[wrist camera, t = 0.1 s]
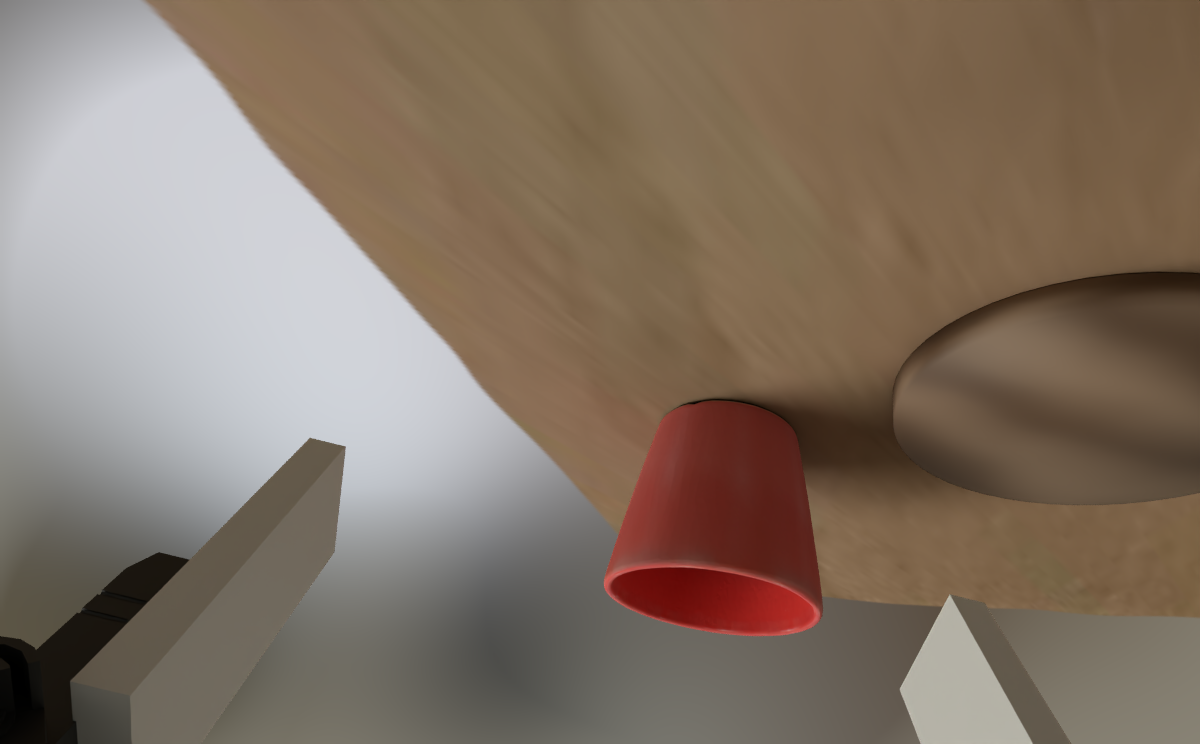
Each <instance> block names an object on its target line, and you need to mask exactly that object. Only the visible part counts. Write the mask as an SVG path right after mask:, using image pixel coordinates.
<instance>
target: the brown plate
mask: <svg viewBox="0 0 1200 744" xmlns="http://www.w3.org/2000/svg"><path fill="white" fill-rule="evenodd" d="M893 429H894V433H895V437H896V440H897V442H898V443H899V445H900V447H901V449H902V450H903V451H904V452H905V454H906V455H907V456H908V457H909V458H910V459H911V460H912V461H913V462H915V463H916V464H917V465H918V466H919V467H921V468H922V469H924V470H925V471H927V472H929V473H930V474H932V475H934V476H936V477H938V478H940V479H942V480H944V481H946V482H948V483H951V484H954V485H956V486H959V487H962V488H965V489H968V490H971V491H975V492H978V493H982V494H986V495H990V496H995V497H1000V498H1005V499H1011V500H1018V501H1025V502H1034V503H1044V504H1061V505H1108V504H1126V503H1136V502H1147V501H1155V500H1162V499H1169V498H1176V497H1181V496H1186V495H1191V494H1196V493H1200V274H1194V273H1137V274H1119V275H1111V276H1103V277H1095V278H1086V279H1081V280H1076V281H1070V282H1065V283H1060V284H1055V285H1050V286H1047V287H1043V288H1039V289H1035V290H1032V291H1028V292H1024V293H1020V294H1017V295H1015V296H1012V297H1009V298H1006V299H1003V300H1000V301H997V302H994V303H992V304H989V305H987V306H985V307H983V308H980V309H978V310H976V311H974V312H971V313H969V314H967V315H965V316H963V317H961V318H960V319H958V320H956V321H954V322H952V323H951V324H949V325H947V326H945V327H944V328H942V329H941V330H939V331H938V332H937V333H935V334H934V335H932V336H931V337H930V338H928V339H927V340H926V341H925V342H924V343H922V344H921V345H920V346H919V347H918V348H917V349H916V350H915V351H914V352H913V353H912V354H911V355H910V357H909V358H908V359H907V360H906V361H905V363H904V364H903V365H902V367H901V369H900V371H899V373H898V375H897V377H896V380H895V383H894V387H893Z"/></svg>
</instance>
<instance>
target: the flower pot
mask: <svg viewBox="0 0 1200 744" xmlns="http://www.w3.org/2000/svg"><path fill="white" fill-rule="evenodd" d="M604 587H605V590H606V592H607V593H608V594H609V595H610V596H611V597H612V598H613V599H614V600H615V601H616V602H618V603H619V604H621V605H623V606H625V607H627V608H629V609H631V610H633V611H635V612H637V613H640V614H642V615H645V616H648V617H650V618H654V619H657V620H660V621H663V622H667V623H671V624H675V625H679V626H683V627H687V628H692V629H697V630H702V631H708V632H714V633H722V634H731V635H745V636H775V635H786V634H792V633H796V632H801V631H804V630H807V629H809V628H811V627H813V626H814V625H816V624H817V623H818V622H819V620H820V619H821V617H822V613H823V605H822V593H821V585H820V578H819V570H818V563H817V556H816V550H815V543H814V536H813V530H812V523H811V515H810V509H809V502H808V496H807V490H806V484H805V478H804V473H803V467H802V461H801V455H800V449H799V444H798V439H797V436H796V434H795V432H794V430H793V429H792V427H791V426H790V425H789V424H788V423H787V422H786V421H785V420H783V419H782V418H781V417H779V416H777V415H776V414H774V413H772V412H770V411H768V410H765V409H763V408H760V407H757V406H754V405H750V404H745V403H740V402H733V401H704V402H700V403H697V404H694V405H693V404H687V405H683V406H681V407H678V408H676V409H674V410H672V411H671V412H669V413H668V414H667V415H666V416H665V417H664V418H663V419H662V421H661V422H660V424H659V427H658V429H657V432H656V435H655V437H654V440H653V442H652V445H651V447H650V450H649V452H648V455H647V457H646V460H645V462H644V465H643V468H642V470H641V473H640V476H639V478H638V481H637V484H636V487H635V489H634V492H633V495H632V498H631V501H630V504H629V506H628V509H627V512H626V515H625V518H624V521H623V524H622V526H621V529H620V532H619V535H618V538H617V541H616V544H615V547H614V550H613V553H612V556H611V559H610V562H609V565H608V569H607V572H606V575H605V579H604Z"/></svg>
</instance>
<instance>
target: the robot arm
mask: <svg viewBox="0 0 1200 744" xmlns="http://www.w3.org/2000/svg"><path fill="white" fill-rule="evenodd" d="M345 448H346V447H345V446H341V445H336V444H332V443H329V442H325V441H320V440H316V439H312V438H309V439H308V441H307V442H306V443H305V444H304V445H303V446H302V447H301V448H300V449H299V450H298V451H297V452H296V453H295V454H294V455H293V456H292V457H291V458H290V459H289V460H288V461H287V462H286V463H285V464H284V465H283V466H282V467H281V468H280V469H279V470H278V471H277V472H276V473H275V474H274V475H273V476H272V477H271V478H270V479H269V480H268V481H267V482H266V483H265V484H264V485H263V486H262V487H261V488H260V489H259V490H258V491H257V492H256V493H255V494H254V495H253V496H252V497H251V498H250V499H249V500H248V501H247V502H246V503H245V504H244V506H242V508H240V510H239V511H238V512H237V513H236V514H235V515H234V516H233V517H232V518H231V519H230V520H229V521H228V522H227V523H226V524H225V525H224V526H223V527H222V528H221V529H220V530H219V531H218V532H217V533H216V534H215V535H214V536H213V537H212V538H211V539H210V540H209V541H208V542H207V543H206V544H205V545H204V546H203V547H202V548H201V549H200V550H199V551H198V552H197V553H196V554H195V555H194V556H193V557H192V558H191V559H190V560H188V559H184V558H180V557H176V556H172V555H168V554H164V553H160V552H159V553H156V554H154V555H152V556H150V557H148V558H146V559H144V560H142V561H140V562H138V563H136V564H134V565H132V566H130V567H128V568H126V569H125V570H124V571H123V572H121V573H120V574H119V575H118V576H117V577H116V578H115V579H114V580H113V581H112V582H110V583H109V584H108V585H107V586H106V587H105V588H104V589H103V590H102V592H101V594H100V595H98V594H97V595H96V596H95V597H94V598H93V599H92V600H91V601H90V602H89V603H87V604H86V605H85V606H84V607H83V608H82V611H81V612H80V613H76V614H75V615H74V616H73V617H72V618H71V619H70V620H69V621H68V622H67V623H65V624H64V625H63V626H62V627H61V628H60V629H59V630H58V631H57V632H56V633H55V634H53V635H52V636H51V637H50V638H49V639H48V640H47V641H46V642H45V643H43V644H42V645H41V646H40V647H39V648H38V649H37V650H35V648H34V647H33V646H31V645H29V644H28V643H26V642H24V641H22V640H21V639H15V638H8V637H1V636H0V744H201V743H202V741H203V740H204V739H205V737H206V736H207V734H208V733H209V731H210V730H211V728H212V727H213V726H214V724H215V723H216V721H217V720H218V718H219V717H220V716H221V714H222V713H223V711H224V710H225V708H226V707H227V706H228V704H229V703H230V701H231V700H232V698H233V697H234V695H235V694H236V693H237V691H238V690H239V688H240V687H241V685H242V684H243V682H244V681H245V680H246V678H247V677H248V675H249V674H250V673H251V671H252V670H253V668H254V667H255V665H256V664H257V662H258V661H259V660H260V658H261V657H262V655H263V654H264V652H265V651H266V650H267V648H268V647H269V645H270V644H271V642H272V641H273V639H274V638H275V637H276V635H277V634H278V632H279V631H280V629H281V628H282V626H283V625H284V624H285V622H286V621H287V619H288V618H289V616H290V615H291V614H292V612H293V611H294V609H295V608H296V606H297V605H298V604H299V602H300V601H301V599H302V598H303V596H304V595H305V593H306V592H307V590H308V589H309V588H310V586H311V585H312V583H313V582H314V581H315V579H316V578H317V576H318V575H319V573H320V572H321V570H322V569H323V568H324V566H325V565H326V563H327V562H328V560H329V559H330V558H331V556H332V555H333V553H334V551H335V541H336V532H337V522H338V513H339V504H340V495H341V485H342V476H343V467H344V458H345ZM900 691H901V694H902V696H903V699H904V702H905V704H906V707H907V709H908V712H909V714H910V717H911V719H912V722H913V725H914V727H915V730H916V732H917V735H918V738H919V740H920V743H921V744H1071V743H1070V741H1069V739H1068V738H1067V736H1066V735H1065V733H1064V731H1063V730H1062V728H1061V726H1060V725H1059V723H1058V721H1057V720H1056V718H1055V717H1054V715H1053V713H1052V712H1051V710H1050V709H1049V707H1048V705H1047V704H1046V702H1045V700H1044V699H1043V697H1042V696H1041V694H1040V692H1039V691H1038V689H1037V687H1036V686H1035V684H1034V682H1033V681H1032V679H1031V678H1030V676H1029V674H1028V673H1027V671H1026V669H1025V668H1024V666H1023V665H1022V663H1021V661H1020V660H1019V658H1018V657H1017V655H1016V653H1015V652H1014V650H1013V649H1012V647H1011V645H1010V644H1009V642H1008V640H1007V639H1006V637H1005V636H1004V634H1003V632H1002V630H1001V629H1000V627H999V626H998V624H997V622H996V621H995V619H994V618H993V616H992V614H991V613H990V611H989V609H988V608H987V606H986V604H985V603H983V602H979V601H975V600H970V599H966V598H962V597H958V596H954V595H949V597H948V599H947V601H946V603H945V604H944V606H943V608H942V610H941V612H940V614H939V616H938V618H937V620H936V621H935V623H934V625H933V627H932V629H931V631H930V633H929V635H928V637H927V639H926V640H925V642H924V644H923V646H922V648H921V650H920V652H919V654H918V656H917V658H916V659H915V662H914V663H913V665H912V667H911V669H910V671H909V673H908V675H907V677H906V679H905V680H904V682H903V684H902V686H901V688H900Z"/></svg>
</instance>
